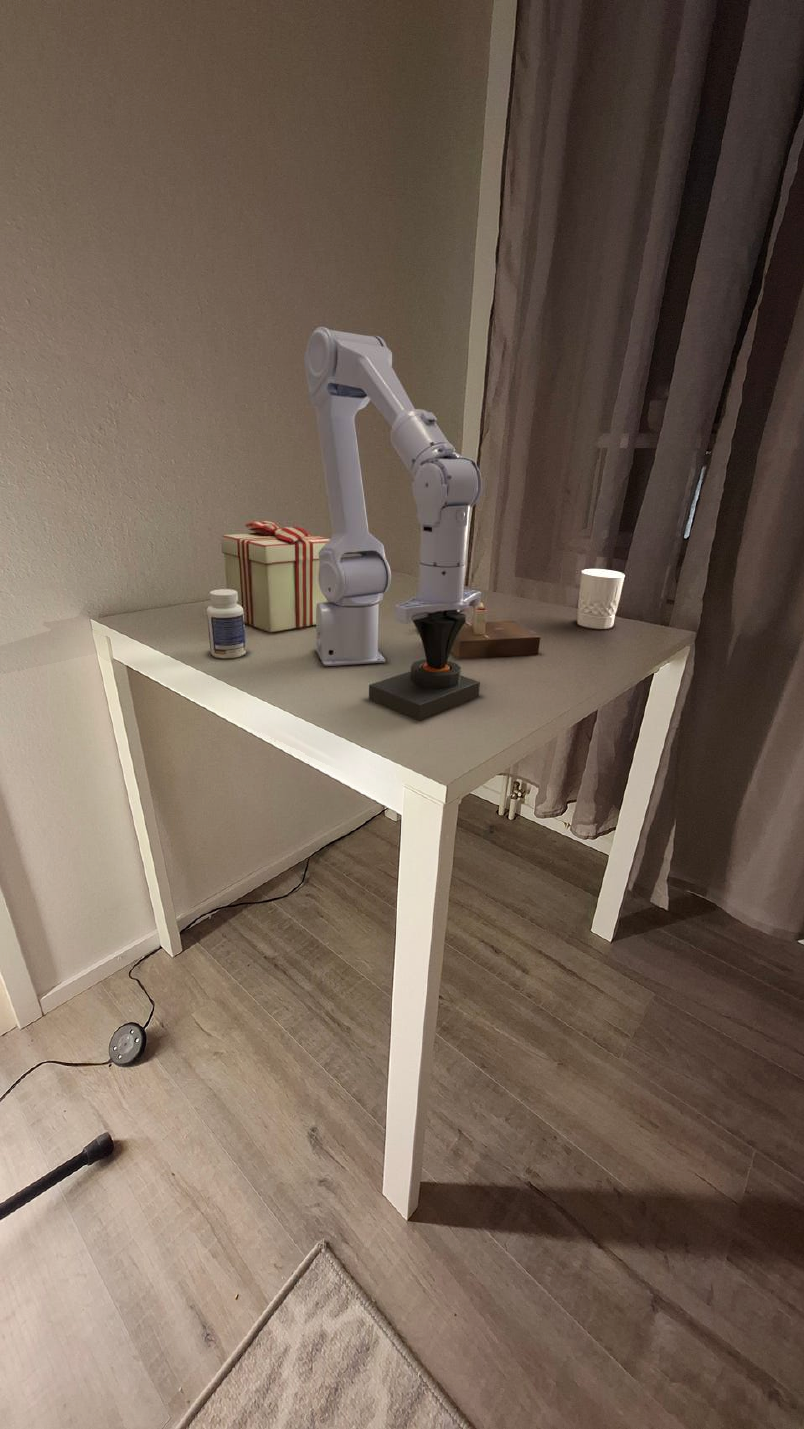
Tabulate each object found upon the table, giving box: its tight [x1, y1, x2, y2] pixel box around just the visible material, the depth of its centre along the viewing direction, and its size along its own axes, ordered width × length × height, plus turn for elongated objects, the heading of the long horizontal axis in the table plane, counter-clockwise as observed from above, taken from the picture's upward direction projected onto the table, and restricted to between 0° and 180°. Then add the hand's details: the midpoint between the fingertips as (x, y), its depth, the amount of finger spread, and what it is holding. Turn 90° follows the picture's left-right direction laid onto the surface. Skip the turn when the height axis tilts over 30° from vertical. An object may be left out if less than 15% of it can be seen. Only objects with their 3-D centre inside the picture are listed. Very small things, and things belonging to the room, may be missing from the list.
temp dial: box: [470, 602, 488, 635], centre depth 101 cm, size 5×2×4 cm, turn 1°
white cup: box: [576, 568, 626, 630], centre depth 118 cm, size 8×8×10 cm
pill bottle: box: [206, 588, 247, 659], centre depth 94 cm, size 5×5×10 cm
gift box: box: [220, 520, 331, 633], centre depth 113 cm, size 17×18×17 cm
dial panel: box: [450, 620, 541, 660], centre depth 103 cm, size 14×10×3 cm
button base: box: [368, 659, 481, 722], centre depth 81 cm, size 12×9×4 cm
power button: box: [422, 663, 450, 673], centre depth 82 cm, size 4×4×2 cm
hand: (436, 666), depth 82 cm, fingers closed, pressing on power button
